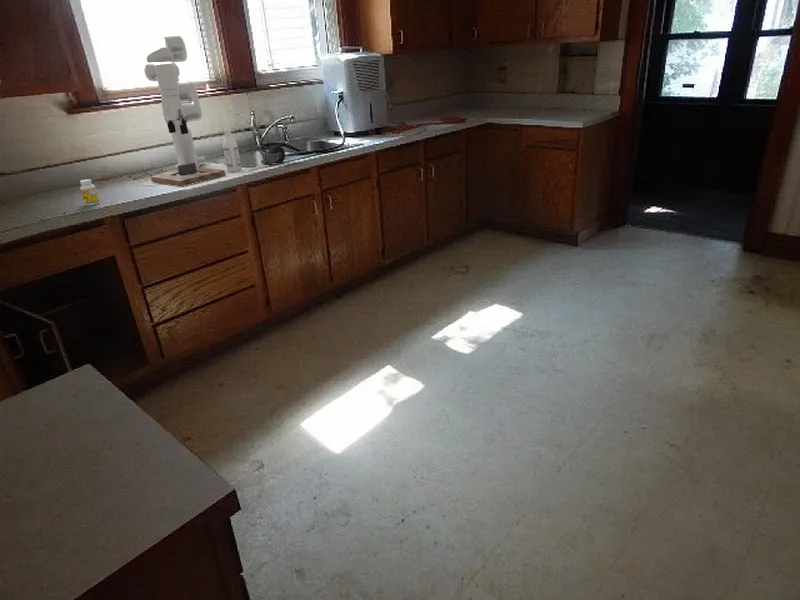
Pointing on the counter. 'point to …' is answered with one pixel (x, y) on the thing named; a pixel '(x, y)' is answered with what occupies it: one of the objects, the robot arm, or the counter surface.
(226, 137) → the bath foam
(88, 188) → the supplement bottle
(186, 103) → the robot arm
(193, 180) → the brown wooden square frame
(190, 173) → the dial
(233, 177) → the counter surface
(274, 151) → the caster wheel
